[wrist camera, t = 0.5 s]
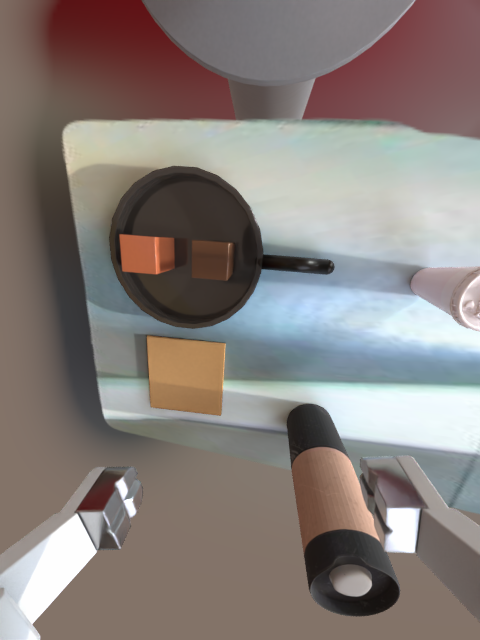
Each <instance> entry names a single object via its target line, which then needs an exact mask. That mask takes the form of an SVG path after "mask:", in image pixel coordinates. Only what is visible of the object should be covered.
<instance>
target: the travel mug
mask: <svg viewBox="0 0 480 640" xmlns="http://www.w3.org/2000/svg"><path fill="white" fill-rule="evenodd" d="M287 428H288V439H289V449H290V458H291V468H292V476H293V482H294V490H295V495H296V503H297V510H298V516H299V524H300V531H301V537H302V544H303V551H304V558H305V565H306V572H307V578H308V584H309V590H310V593H311V596H312V598H313V599H314V601H315V602H317V604H319V605H320V606H321V607H323V608H324V609H326V610H328V611H331V612H333V613H337V614H340V615H345V616H369V615H374V614H378V613H380V612H383V611H385V610H387V609H389V608H390V607H392V606H393V605H394V604H395V603H396V602H397V600H398V598H399V595H400V587H399V583H398V580H397V577H396V575H395V573H394V570H393V567H392V565H391V562H390V560H389V557H388V555H387V552H384V550H383V547H382V545H381V542H380V540H379V537H378V535H377V532H376V530H375V527H374V519H373V517H372V514H371V512H370V511H368V509H367V507H366V504H365V502H364V499H363V495H362V491H361V486H360V484H359V481H358V479H357V476H356V474H355V471H354V469H353V466H352V464H351V461H350V459H349V457H348V454H347V452H346V450H345V448H344V446H343V443H342V441H341V439H340V437H339V434H338V432H337V430H336V428H335V425H334V423H333V421H332V419H331V417H330V415H329V413H328V412H327V411H326V410H325V409H324V408H322V407H320V406H318V405H314V404H305V405H301V406H298V407H297V408H295V409H294V410H292V411H291V413H290V414H289V416H288V419H287Z"/></svg>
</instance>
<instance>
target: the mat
mask: <svg viewBox="0 0 480 640" xmlns="http://www.w3.org/2000/svg"><path fill="white" fill-rule="evenodd" d="M147 349H148V367H149V385H150V403H151V407H153V408H161V409H170V410H178V411H186V412H195V413H203V414H211V415H219V416H221V410H222V393H223V377H224V360H225V343H217V342H207V341H198V340H188V339H178V338H169V337H159V336H150V335H148V336H147Z"/></svg>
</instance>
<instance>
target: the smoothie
mask: <svg viewBox="0 0 480 640" xmlns="http://www.w3.org/2000/svg"><path fill="white" fill-rule="evenodd" d="M411 290H412V291H413V293H414V294H416V295H418V296H419V297H421V298H423V299H424V300H426V301H428V302H429V303H431V304H433V305H434V306H436V307H438V308H439V309H441V310H443V311H445V312H446V313H448V314H449V315H451V316H452V317H453V319H454V320H455V321H456V322H457V323H458V324H459V325H462V326H464V327H466V328H470V329H472V330H476V331H480V267H440V268H424V269H422V270H420V271H418V272H417V273H416V274H415V275H414V276H413V278H412V280H411Z"/></svg>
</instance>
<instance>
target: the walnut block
mask: <svg viewBox="0 0 480 640" xmlns="http://www.w3.org/2000/svg"><path fill="white" fill-rule="evenodd" d="M234 251H235V243H234V242H221V241H209V240H192V278H201V279H213V280H224V281H227V280H228V279H229V278H230V277H231V275H232V274H233V266H234Z"/></svg>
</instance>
